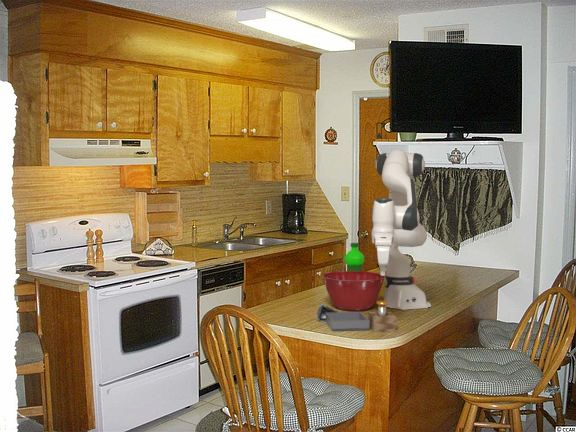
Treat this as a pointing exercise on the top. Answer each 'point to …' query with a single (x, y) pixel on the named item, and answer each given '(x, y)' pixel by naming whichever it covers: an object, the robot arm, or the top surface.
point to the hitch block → (382, 322)
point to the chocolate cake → (323, 312)
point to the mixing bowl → (353, 289)
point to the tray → (347, 321)
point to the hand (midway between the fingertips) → (382, 273)
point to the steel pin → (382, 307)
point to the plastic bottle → (354, 258)
